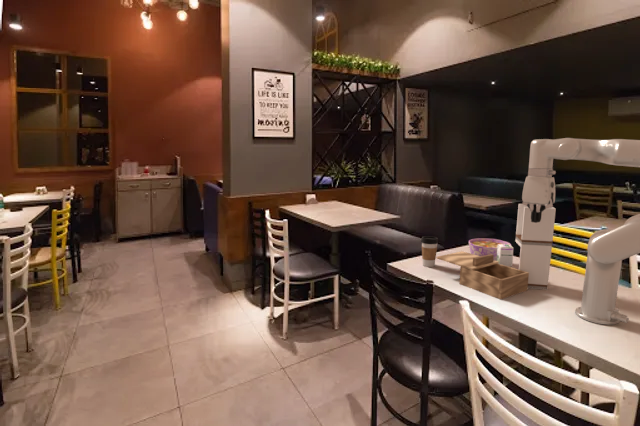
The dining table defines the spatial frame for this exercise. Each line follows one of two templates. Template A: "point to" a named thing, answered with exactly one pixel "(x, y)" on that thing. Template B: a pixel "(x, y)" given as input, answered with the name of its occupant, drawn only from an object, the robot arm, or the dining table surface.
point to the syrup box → (505, 254)
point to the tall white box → (535, 245)
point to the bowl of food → (485, 246)
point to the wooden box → (495, 280)
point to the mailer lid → (469, 260)
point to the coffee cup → (429, 250)
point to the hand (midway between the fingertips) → (535, 221)
